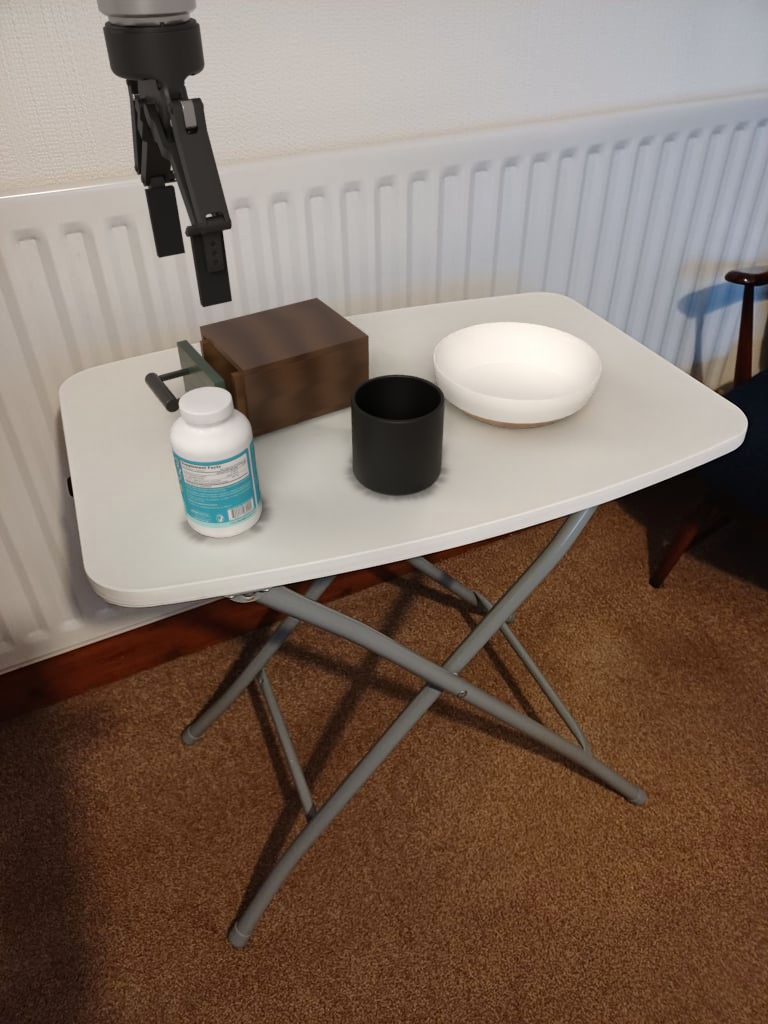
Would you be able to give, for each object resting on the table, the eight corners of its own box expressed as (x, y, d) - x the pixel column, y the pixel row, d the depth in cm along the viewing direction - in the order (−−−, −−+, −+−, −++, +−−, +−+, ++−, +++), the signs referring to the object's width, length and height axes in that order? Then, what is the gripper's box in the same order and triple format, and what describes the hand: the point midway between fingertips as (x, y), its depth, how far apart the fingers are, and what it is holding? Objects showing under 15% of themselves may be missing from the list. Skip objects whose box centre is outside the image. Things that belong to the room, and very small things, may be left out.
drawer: (179, 450, 85) (169, 396, 81) (145, 404, 93) (134, 352, 89) (336, 401, 93) (333, 349, 89) (292, 363, 101) (288, 313, 97)
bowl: (490, 467, 84) (495, 418, 81) (401, 387, 98) (402, 342, 94) (628, 420, 92) (639, 374, 88) (528, 352, 105) (533, 309, 101)
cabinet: (251, 438, 89) (243, 370, 84) (209, 390, 97) (199, 326, 92) (369, 400, 95) (368, 335, 90) (320, 359, 104) (316, 297, 98)
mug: (473, 459, 86) (480, 386, 80) (399, 509, 79) (400, 433, 73) (409, 427, 91) (411, 356, 85) (334, 471, 84) (331, 397, 78)
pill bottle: (207, 489, 81) (187, 373, 73) (274, 501, 80) (260, 384, 71) (173, 534, 76) (147, 414, 67) (244, 547, 74) (226, 426, 66)
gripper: (253, 34, 55) (279, 317, 68) (152, -2, 72) (189, 231, 85) (147, 42, 52) (196, 336, 65) (68, 4, 69) (120, 243, 82)
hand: (192, 277), depth 75 cm, fingers open, 13 cm apart
